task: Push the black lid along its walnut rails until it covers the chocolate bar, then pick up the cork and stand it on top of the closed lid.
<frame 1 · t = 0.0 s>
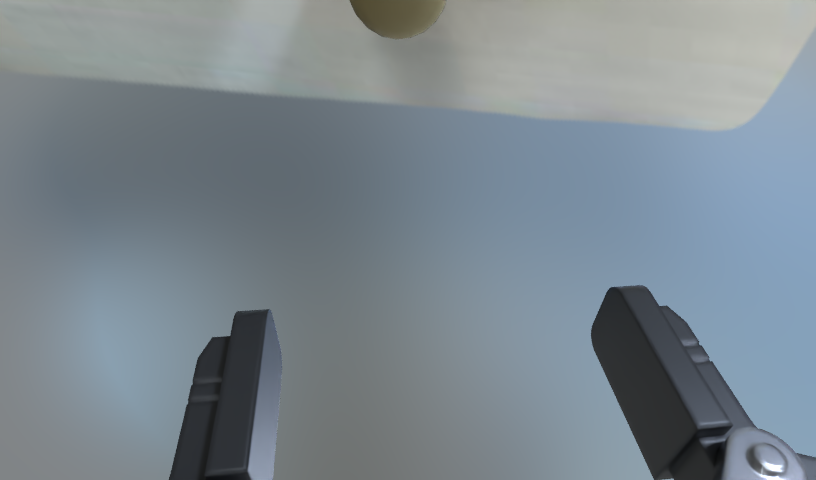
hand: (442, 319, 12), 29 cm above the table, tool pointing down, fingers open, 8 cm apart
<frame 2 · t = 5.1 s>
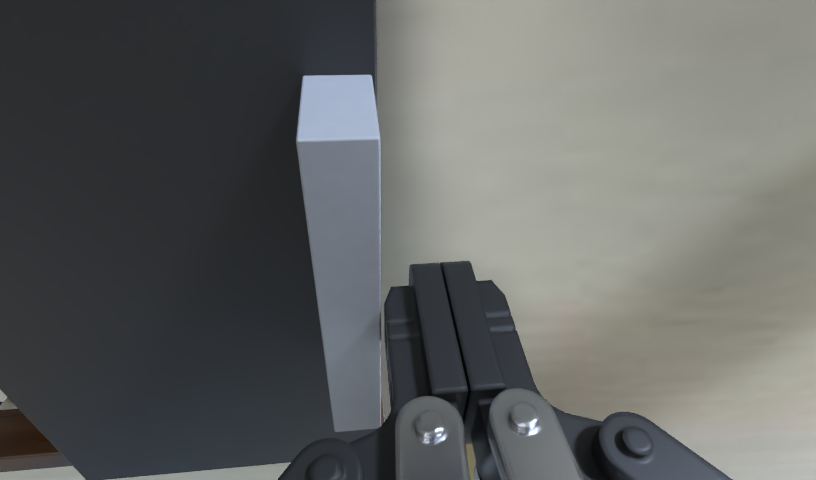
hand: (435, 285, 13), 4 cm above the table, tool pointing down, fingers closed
lid: (135, 290, 12), point 4 cm above the table, slide at 0.2 cm, touching gripper
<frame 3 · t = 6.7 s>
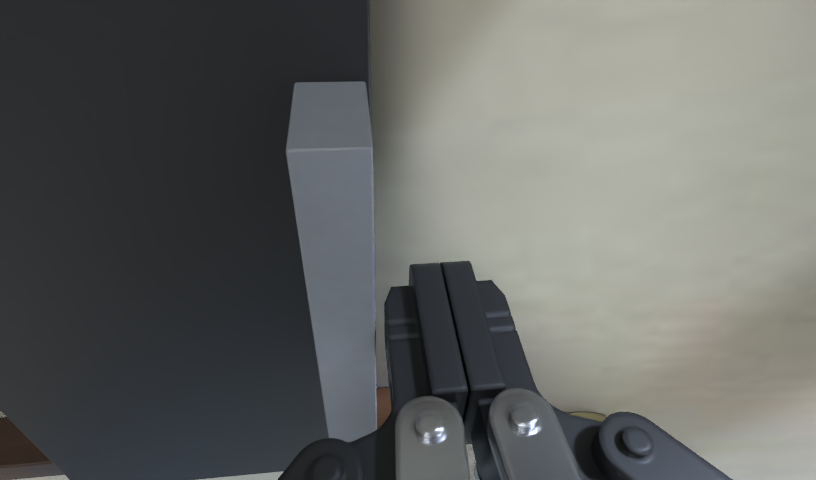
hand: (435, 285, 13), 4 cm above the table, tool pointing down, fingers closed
lid: (125, 301, 12), point 4 cm above the table, slide at 6.7 cm, touching gripper
rails: (172, 201, 15), on the table
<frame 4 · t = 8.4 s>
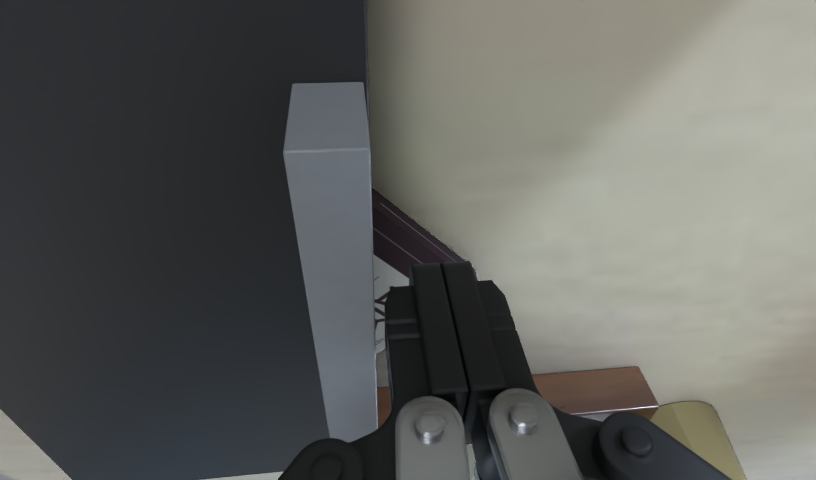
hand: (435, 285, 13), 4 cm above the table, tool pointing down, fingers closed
cork: (661, 425, 29), on the table
lid: (125, 302, 12), point 4 cm above the table, slide at 12.8 cm, touching gripper
chocolate bar: (174, 202, 15), on the table
rails: (375, 194, 15), on the table
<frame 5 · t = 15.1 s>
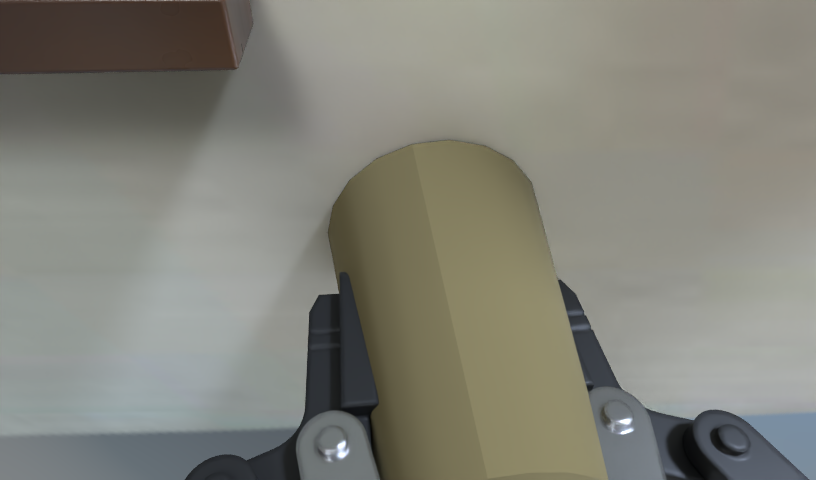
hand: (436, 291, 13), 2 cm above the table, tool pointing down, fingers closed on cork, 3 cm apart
cork: (433, 227, 14), on the table, touching gripper
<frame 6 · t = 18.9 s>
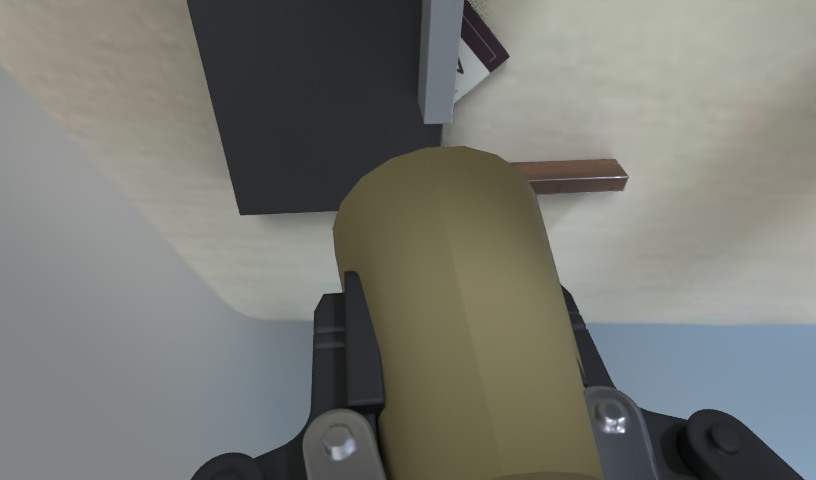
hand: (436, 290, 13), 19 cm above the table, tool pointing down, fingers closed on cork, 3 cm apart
cork: (436, 231, 15), point 16 cm above the table, touching gripper
lid: (323, 7, 22), point 4 cm above the table, slide at 12.8 cm
when the fingers open (5 cm above the table, at t = 22.6 s): cork stays where it is, resting on lid.
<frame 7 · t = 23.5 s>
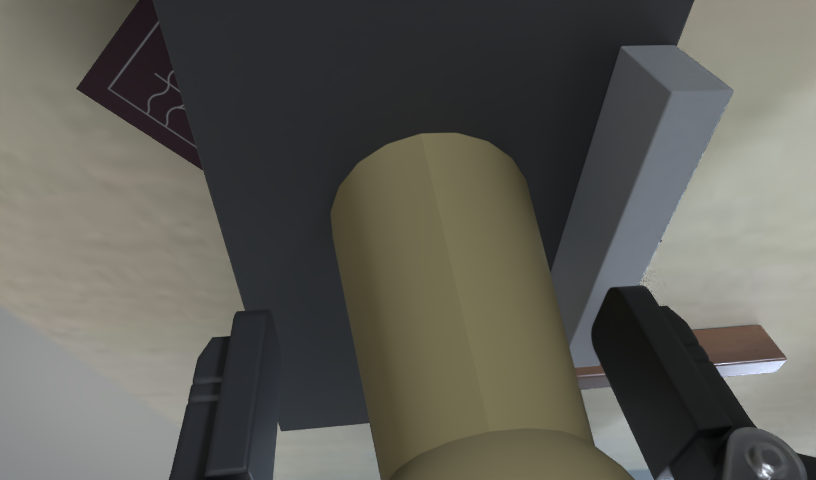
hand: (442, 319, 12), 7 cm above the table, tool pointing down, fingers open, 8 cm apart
cork: (430, 216, 15), point 3 cm above the table, touching lid
lid: (430, 236, 14), point 4 cm above the table, slide at 12.8 cm, touching cork
chocolate bar: (422, 160, 17), on the table
rails: (590, 154, 18), on the table
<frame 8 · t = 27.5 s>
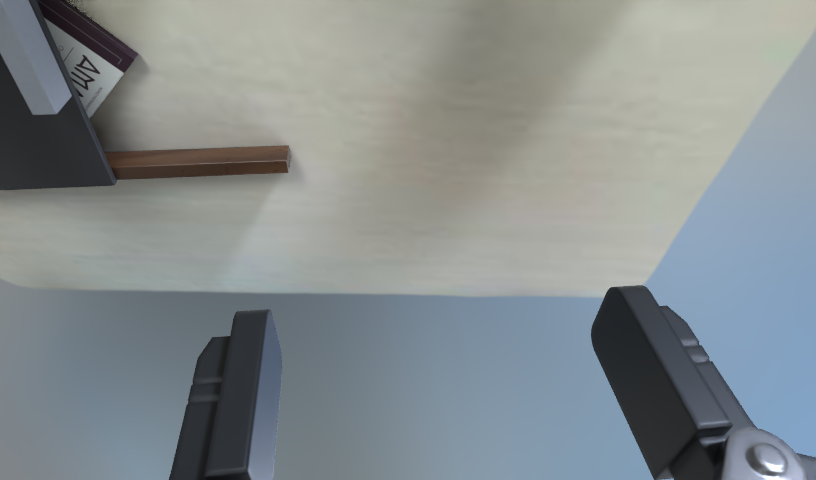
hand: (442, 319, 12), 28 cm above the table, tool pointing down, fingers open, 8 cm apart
rails: (62, 0, 31), on the table
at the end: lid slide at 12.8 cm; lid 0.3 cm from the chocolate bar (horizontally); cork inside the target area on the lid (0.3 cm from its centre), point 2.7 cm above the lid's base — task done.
